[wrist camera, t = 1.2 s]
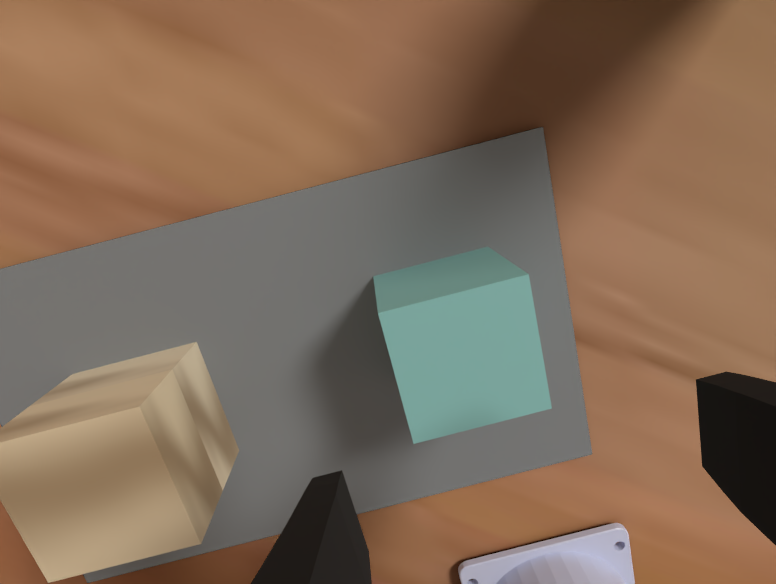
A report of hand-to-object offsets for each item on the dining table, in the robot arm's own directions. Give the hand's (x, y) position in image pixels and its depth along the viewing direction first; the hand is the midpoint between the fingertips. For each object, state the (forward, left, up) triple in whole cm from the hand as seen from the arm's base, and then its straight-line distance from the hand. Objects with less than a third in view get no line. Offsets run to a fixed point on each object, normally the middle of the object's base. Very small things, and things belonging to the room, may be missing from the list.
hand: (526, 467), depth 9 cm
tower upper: (-1, +12, -7) cm, 14 cm away
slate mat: (-1, +6, -10) cm, 12 cm away
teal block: (0, 0, -10) cm, 10 cm away
